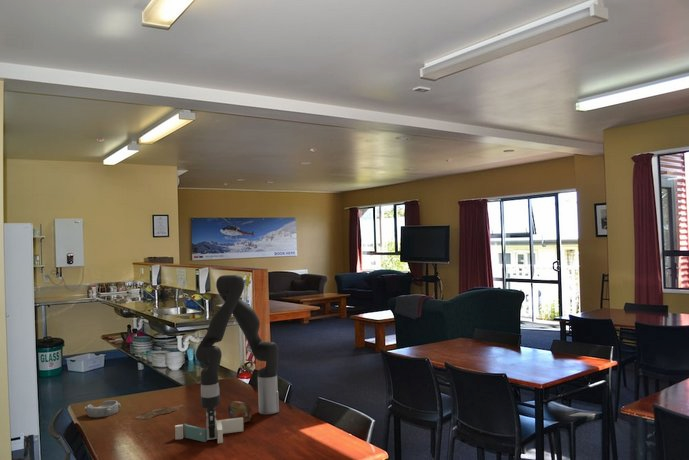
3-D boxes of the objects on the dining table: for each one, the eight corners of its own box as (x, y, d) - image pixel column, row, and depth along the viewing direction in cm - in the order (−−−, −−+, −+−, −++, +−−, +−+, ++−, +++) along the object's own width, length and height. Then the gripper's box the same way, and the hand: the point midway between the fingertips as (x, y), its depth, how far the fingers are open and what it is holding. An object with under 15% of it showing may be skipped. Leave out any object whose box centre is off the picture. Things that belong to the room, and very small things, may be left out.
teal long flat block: (206, 441, 218) (206, 428, 218) (203, 442, 216) (202, 429, 216) (185, 436, 224) (185, 423, 225) (181, 437, 223) (181, 424, 223)
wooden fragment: (140, 421, 247) (140, 419, 247) (129, 417, 255) (129, 415, 255) (190, 408, 266) (190, 406, 266) (178, 404, 274) (178, 402, 274)
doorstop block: (216, 435, 222) (216, 418, 222) (217, 438, 218) (216, 421, 218) (206, 436, 220) (206, 419, 221) (207, 440, 217) (206, 422, 217)
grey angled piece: (243, 429, 231) (242, 417, 231) (246, 439, 219) (245, 426, 219) (175, 438, 223) (175, 425, 224) (174, 449, 211) (174, 435, 211)
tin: (227, 418, 248) (227, 400, 248) (233, 416, 250) (233, 398, 250) (247, 424, 237) (247, 405, 238) (253, 423, 240) (252, 404, 240)
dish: (80, 417, 257) (80, 406, 257) (103, 408, 270) (103, 398, 270) (103, 420, 252) (103, 409, 252) (125, 411, 264) (125, 401, 265)
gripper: (220, 397, 214) (222, 440, 213) (218, 388, 227) (220, 428, 227) (201, 400, 211) (202, 443, 211) (200, 390, 225) (202, 431, 225)
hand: (211, 435), depth 219 cm, fingers closed on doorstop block, 4 cm apart
